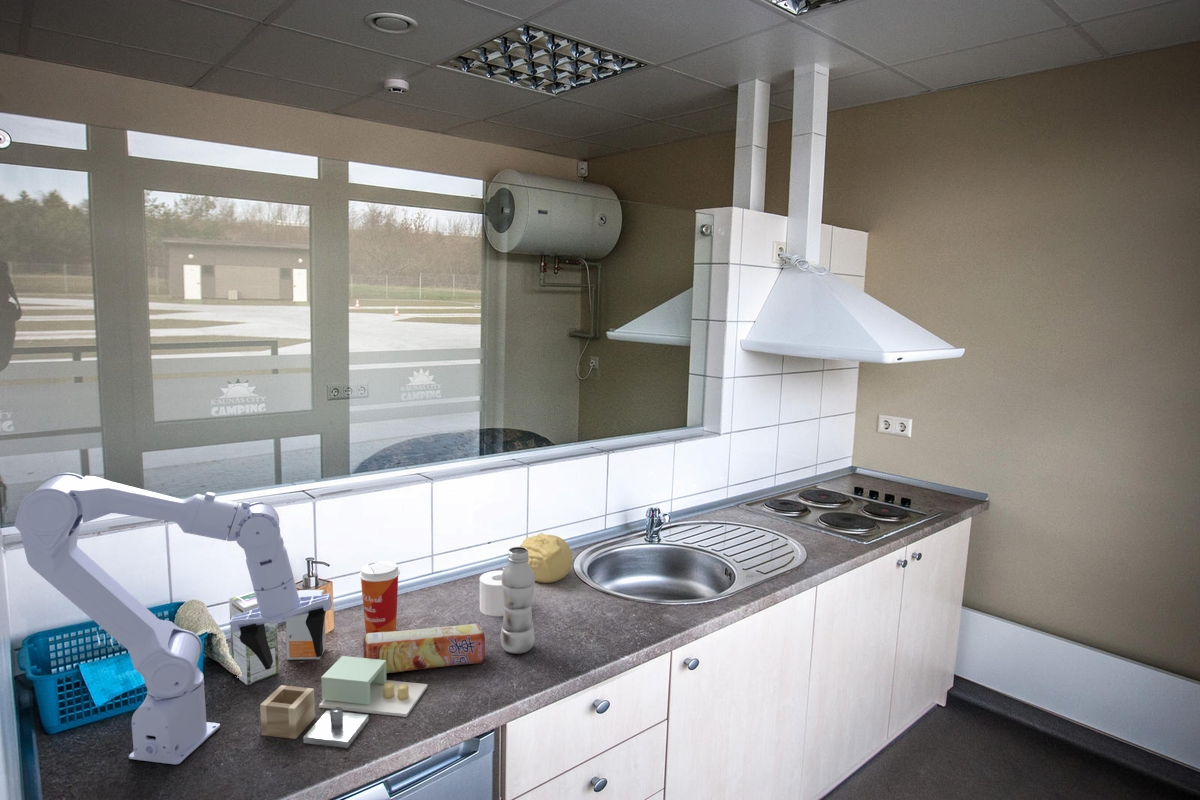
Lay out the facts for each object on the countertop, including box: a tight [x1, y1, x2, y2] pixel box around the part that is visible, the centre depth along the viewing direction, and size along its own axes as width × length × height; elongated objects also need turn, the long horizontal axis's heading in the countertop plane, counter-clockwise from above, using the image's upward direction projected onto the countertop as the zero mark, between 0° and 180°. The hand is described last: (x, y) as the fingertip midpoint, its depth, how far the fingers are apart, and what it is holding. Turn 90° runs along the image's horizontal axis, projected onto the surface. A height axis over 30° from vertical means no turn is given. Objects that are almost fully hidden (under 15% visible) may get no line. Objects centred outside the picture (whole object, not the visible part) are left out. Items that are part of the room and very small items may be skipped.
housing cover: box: [321, 655, 387, 704], centre depth 121 cm, size 7×8×4 cm
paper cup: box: [358, 560, 401, 635], centre depth 142 cm, size 8×8×14 cm
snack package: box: [362, 623, 486, 674], centre depth 131 cm, size 21×7×7 cm, turn 108°
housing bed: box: [318, 679, 428, 718], centre depth 121 cm, size 9×15×2 cm, turn 82°
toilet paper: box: [479, 567, 506, 617], centre depth 157 cm, size 8×11×7 cm
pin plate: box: [302, 707, 370, 749], centre depth 111 cm, size 7×7×4 cm
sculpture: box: [519, 533, 573, 584], centre depth 172 cm, size 12×12×11 cm
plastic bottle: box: [499, 546, 536, 655], centre depth 136 cm, size 6×7×20 cm
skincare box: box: [285, 589, 327, 661], centre depth 133 cm, size 6×4×12 cm
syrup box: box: [228, 590, 280, 686], centre depth 126 cm, size 6×6×14 cm
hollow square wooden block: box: [259, 684, 316, 740], centre depth 112 cm, size 6×6×5 cm
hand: (294, 659), depth 113 cm, fingers open, 7 cm apart
